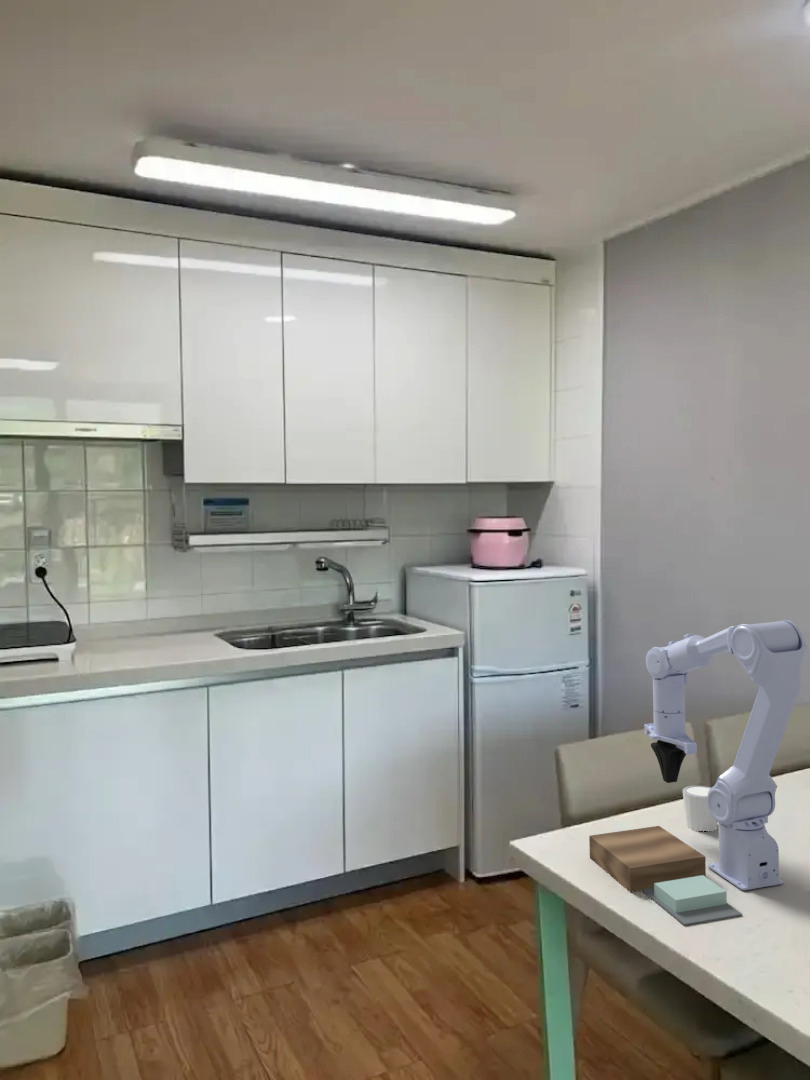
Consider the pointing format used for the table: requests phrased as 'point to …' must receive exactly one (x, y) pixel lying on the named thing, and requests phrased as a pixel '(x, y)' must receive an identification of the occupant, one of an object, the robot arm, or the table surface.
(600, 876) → the table surface
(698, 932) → the table surface
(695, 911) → the mat
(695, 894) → the mint green flat block
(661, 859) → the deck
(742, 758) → the robot arm
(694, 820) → the white short cylinder
